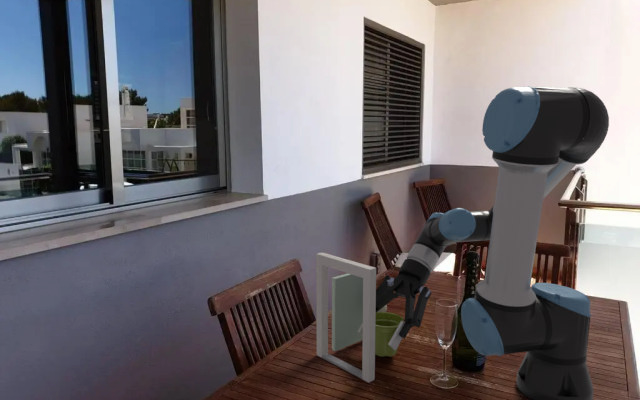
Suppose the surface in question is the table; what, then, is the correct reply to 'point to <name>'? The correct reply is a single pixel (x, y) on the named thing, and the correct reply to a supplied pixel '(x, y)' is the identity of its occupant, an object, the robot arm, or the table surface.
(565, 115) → the robot arm
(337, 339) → the door
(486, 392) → the table surface
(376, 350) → the plant pot
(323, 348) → the door frame
